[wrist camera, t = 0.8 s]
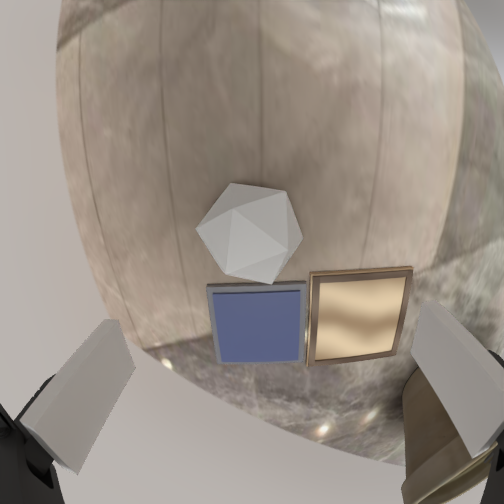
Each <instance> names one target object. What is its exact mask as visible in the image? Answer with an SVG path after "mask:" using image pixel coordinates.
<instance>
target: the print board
mask: <svg viewBox="0 0 504 504" xmlns="http://www.w3.org/2000/svg"><path fill="white" fill-rule="evenodd" d="M413 269H414V268H413V267H412V266H406V267H392V268H377V269H362V270H345V271H327V272H310V294H309V320H308V339H307V355H306V366H308V367H310V366H321V365H332V364H341V363H349V362H356V361H364V360H370V359H377V358H383V357H388V356H394V355H396V352H397V349H398V345H399V341H400V337H401V333H402V329H403V324H404V320H405V315H406V310H407V305H408V300H409V294H410V289H411V282H412V276H413Z"/></svg>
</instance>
